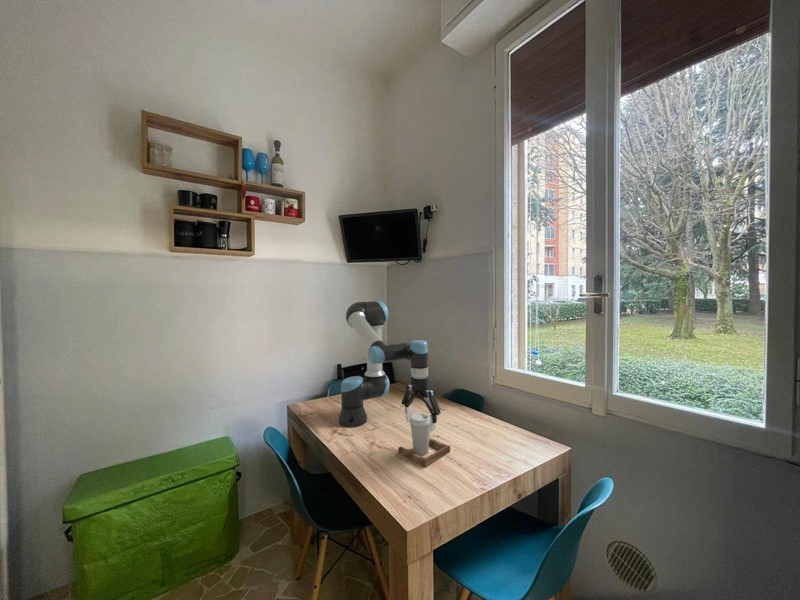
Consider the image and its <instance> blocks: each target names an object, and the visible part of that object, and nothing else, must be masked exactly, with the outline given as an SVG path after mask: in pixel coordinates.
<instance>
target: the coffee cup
mask: <svg viewBox="0 0 800 600" xmlns="http://www.w3.org/2000/svg"><path fill="white" fill-rule="evenodd" d="M408 423H409V424H410V431H411V438H412V439H411V440H412V448H413V449H412V450H413V451H412V452H414V453H416V454H418V455H420V456H424V455H427V454H428V453H429V448H430V445H429V438H430V435H431V433H430V432H431V431H430V415H428V414H426V413H421V412H417V413H413V414H412V416H411V418H410V421H409V422H408Z"/></svg>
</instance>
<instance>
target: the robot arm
mask: <svg viewBox="0 0 800 600" xmlns="http://www.w3.org/2000/svg"><path fill="white" fill-rule="evenodd" d="M388 318H389V310H388V307H387V305H386V304H385V302H383V301H378V300H377V301H376V300H374V301H373V300H372V301H356V302H354V303H352V304H351V305H349V306H348V308H347V310H346V313H345V321H346V322H347V325H348V326H349V327H350V328H352V329H354V331H355V332H356V333H357V335H358V337H359V338H360V340H361V341H362V342H363V343H364V345H365V347H366V371H365V372H364V377H362V376H361V375H356V376H355V375H353V376H349V377H346V378H344V379H343V380H342V382H341V384H340V395H341V399H340V401H341V409H340V413H339V417H338V424H339V425H340V426H342V427H345V428H357V427H360V426H362V425H365V424H366V423H367V421H368V417H367V416H368V415H367V412H366V409H365V408H364V401H367V400H371V399H377V398H381V397H384V396H387V394H388V392H389V390H390V379H389V377H388V375H386V372H385V371H384V370H383V364H385V363H390V362H391V363H392V362H397V361H398V362H399V361H405V360H406V361H410V376H411V377H410V384H408V385H406V387H405V388H406V389H405V393H404V396H403V398H402V401H401V405H404V407H405V408H404V411H405V415H406V419H405V420H406V423H410V422H409V421H410V418H411V416H412V415H413V414H412V413H413V412H412V405H411V404H412V403H413V401H414V400H415V399H419V400H421V401H423V403H424V404H425V406H426V408H427V409H428V411H429V413H430V415H429V417H430V432H434V431H435V430H436V429H437V426H436V423H437V422H438V421H437V420H438V418H437V417H438V416H439V415H440V414H441V413H442V412H441V409H440V406H439V404H438V401H437V398H436V396H435V391H434V390H433V389H431V390H429V389H428V388H429V349H428V342H427V341H426V340H420V339H418V340H417V339H415V340H411V341H410V342H407V341H399V342H398V343H392V344H386V343H385V342H384V341H383V336H382V335H383V333H382V332H383V329H382V328H384V326H385V322H387V321H388Z"/></svg>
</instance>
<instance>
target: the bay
mask: <svg viewBox="0 0 800 600" xmlns="http://www.w3.org/2000/svg"><path fill="white" fill-rule="evenodd" d="M429 447H433V448H435V449H438V450H436V451H434V452H433V453H432V454H430V455H428V456H427V457H424V456H423V455H418V454H416V453H414V451H411V450H409V449H407V448H405V447H403V446H399V447H398V449H397V450H398V451H397V454H399V455H401V456H403V457H405V458H406V459H409V460H411V461H412V462H415V463H417V464H418V465H421V466H423V467H425V468H428V467H429V466H431V465H432V464H434V463H436V461H438V460H440V459H441V458H442V457H444V456H446V455H447V454H449V453H451V446H450V445H448V444H446V443H443V442H440V441H438V440H436V439H433V438H431V437H429Z"/></svg>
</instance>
